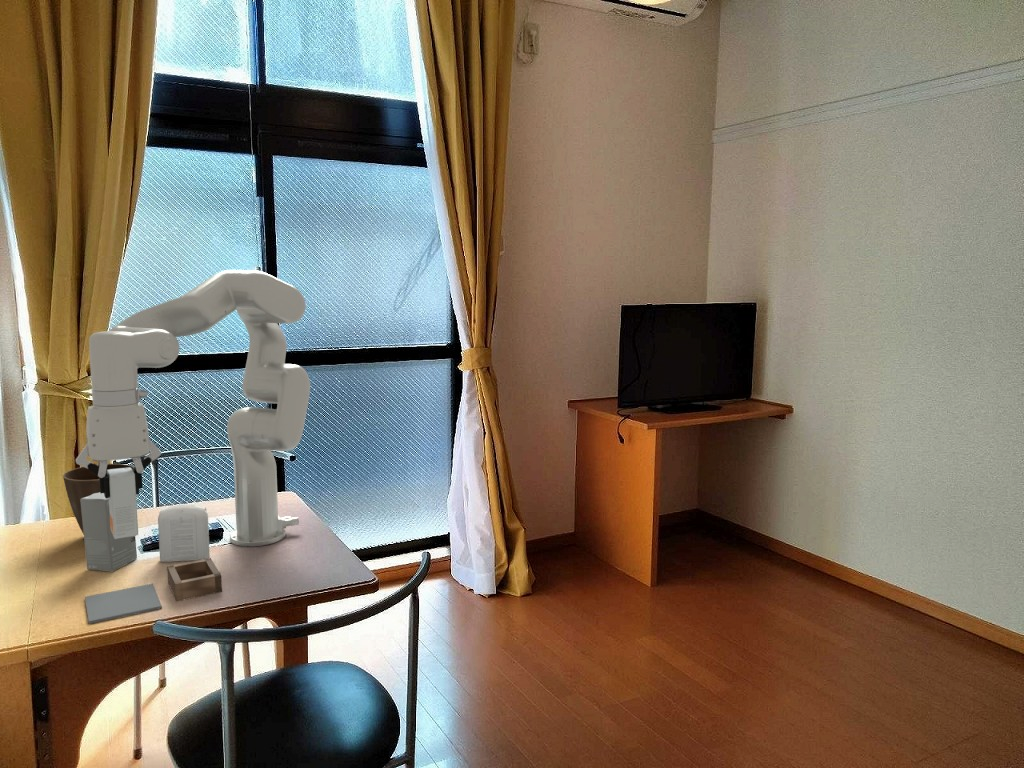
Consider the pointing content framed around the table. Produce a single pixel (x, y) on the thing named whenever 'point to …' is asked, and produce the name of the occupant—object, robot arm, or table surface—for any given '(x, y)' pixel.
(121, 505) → the skincare box
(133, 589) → the grey mat
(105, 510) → the skincare box
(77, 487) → the plant pot
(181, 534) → the photo printer
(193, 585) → the frame
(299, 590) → the table surface
